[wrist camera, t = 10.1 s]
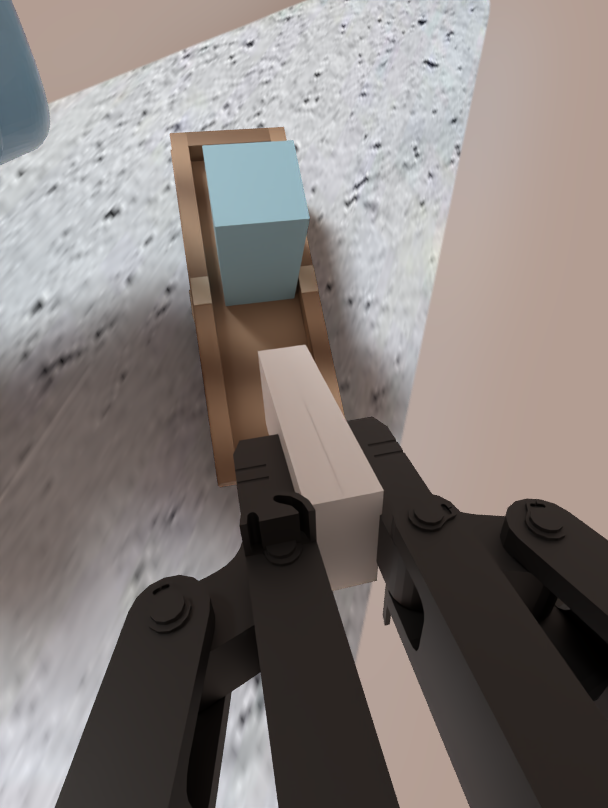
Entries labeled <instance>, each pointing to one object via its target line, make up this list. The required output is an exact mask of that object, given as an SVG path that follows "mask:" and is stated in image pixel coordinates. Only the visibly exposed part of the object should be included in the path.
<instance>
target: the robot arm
mask: <svg viewBox="0 0 608 808" xmlns="http://www.w3.org/2000/svg"><path fill="white" fill-rule="evenodd" d="M49 128H50V114H49V107H48V102H47V98H46V94H45V91H44V88H43V84H42V81H41V78H40V75H39V72H38V69H37V66H36V63H35V60H34V57H33V55H32V52H31V49H30V46H29V43H28V41H27V38H26V35H25V33H24V30H23V28H22V25H21V23H20V20H19V18H18V15H17V12H16V10H15V8H14V5H13V3H12V1H11V0H0V165H2V164H4V163H6V162H8V161H11V160H13V159H15V158H17V157H20V156H22V155H24V154H26V153H29V152H31V151H33V150H35V149H37V148H38V147H39V146H40V145H41V144H42V143H43V141H44V140H45V138H46V137H47V135H48V132H49ZM258 358H259V366H260V375H261V384H262V393H263V401H264V410H265V419H266V425H267V429H268V433H269V436H263V437H257V438H251V439H246V440H240V441H239V443H238V445H237V447H236V449H235V451H234V454H233V459H234V466H235V474H236V482H237V489H238V497H239V504H240V512H241V518H240V531H241V536H242V544H241V547H240V550H239V551H238V553H237V554H236V556H235V557H234V558H233V559H232V560H231V561H230V562H229V563H228V564H227V565H226V566H225V567H223V568H222V569H220V570H219V571H217V572H215V573H213V574H212V575H210V576H208V577H206V578H204V579H202V580H200V581H198V580H196V579H195V578H193V577H188V576H182V575H177V576H172V577H166V578H163V579H161V580H159V581H157V582H155V583H153V584H151V585H149V586H148V587H147V588H146V589H145V590H144V591H143V592H142V593H141V594H140V595H139V596H138V597H137V598H136V600H135V601H134V603H133V605H132V607H131V608H130V610H129V612H128V615H127V617H126V620H125V623H124V625H123V628H122V630H121V633H120V636H119V638H118V641H117V644H116V646H115V649H114V652H113V654H112V657H111V660H110V662H109V665H108V668H107V670H106V673H105V676H104V678H103V681H102V684H101V686H100V689H99V692H98V694H97V697H96V700H95V702H94V705H93V707H92V710H91V713H90V715H89V718H88V721H87V723H86V726H85V729H84V731H83V734H82V737H81V739H80V742H79V745H78V747H77V750H76V753H75V755H74V758H73V761H72V763H71V766H70V769H69V771H68V774H67V776H66V779H65V782H64V784H63V787H62V790H61V792H60V795H59V798H58V800H57V803H56V806H55V808H215V806H216V799H217V792H218V784H219V777H220V770H221V763H222V756H223V749H224V742H225V735H226V728H227V721H228V714H229V707H230V700H231V693H232V691H233V690H235V689H236V688H238V687H239V686H241V685H242V684H244V683H245V682H247V681H248V680H250V679H251V678H253V677H254V676H255V675H257V674H258V673H260V672H261V678H262V686H263V694H264V701H265V709H266V716H267V724H268V731H269V739H270V746H271V754H272V761H273V769H274V776H275V784H276V791H277V799H278V807H279V808H400V807H399V804H398V801H397V797H396V794H395V791H394V788H393V785H392V781H391V778H390V775H389V772H388V769H387V765H386V762H385V759H384V756H383V752H382V749H381V746H380V743H379V740H378V736H377V733H376V730H375V727H374V723H373V720H372V717H371V714H370V711H369V708H368V705H367V701H366V698H365V695H364V691H363V688H362V685H361V682H360V679H359V676H358V672H357V669H356V666H355V662H354V659H353V656H352V653H351V650H350V646H349V643H348V640H347V637H346V634H345V630H344V627H343V624H342V621H341V617H340V614H339V611H338V608H337V605H336V601H335V598H334V595H333V592H332V591H334V590H339V589H343V588H347V587H351V586H356V585H360V584H364V583H369V582H373V581H377V570H378V567H379V569H380V571H381V573H382V576H383V578H384V580H385V583H386V589H385V598H384V608H383V618H384V624H385V625H388V624H390V616H392V618H393V621H394V623H395V626H396V628H397V631H398V633H399V635H400V638H401V640H402V643H403V645H404V648H405V650H406V653H407V655H408V658H409V660H410V662H411V665H412V667H413V670H414V672H415V674H416V677H417V679H418V682H419V684H420V686H421V689H422V692H423V694H424V696H425V699H426V701H427V704H428V706H429V709H430V711H431V713H432V716H433V718H434V721H435V723H436V726H437V728H438V731H439V733H440V736H441V738H442V740H443V743H444V745H445V748H446V750H447V753H448V755H449V757H450V760H451V762H452V765H453V767H454V770H455V772H456V774H457V777H458V779H459V782H460V784H461V787H462V789H463V792H464V794H465V796H466V799H467V801H468V804H469V806H470V808H608V540H607V539H605V538H604V537H603V536H601V535H600V534H598V533H597V532H596V531H594V530H593V529H591V528H590V527H589V526H587V525H586V524H585V523H583V522H582V521H581V520H579V519H578V518H577V517H575V516H574V515H572V514H571V513H570V512H568V511H566V510H565V509H563V508H561V507H559V506H558V505H556V504H554V503H550V502H547V501H544V500H539V499H523V500H519V501H515V502H514V503H513V504H512V505H511V506H509V507H508V509H507V512H506V516H491V515H476V514H469V513H463V512H460V511H459V510H458V509H457V508H456V507H455V506H454V505H453V504H452V503H451V502H450V501H448V500H446V499H444V498H442V497H440V496H437V495H433V494H432V493H431V492H430V490H429V489H428V487H427V486H426V484H425V483H424V481H423V480H422V478H421V477H420V476H419V474H418V472H417V471H416V469H415V468H414V466H413V465H412V463H411V462H410V460H409V459H408V457H407V456H406V454H405V453H403V450H402V448H401V447H400V445H399V444H398V442H396V439H395V438H394V436H393V435H392V433H391V432H390V430H389V429H388V427H387V426H386V425H384V424H383V423H381V422H380V421H378V420H377V419H375V418H374V417H368V418H362V419H356V420H350V421H346V419H345V417H344V416H343V414H342V412H341V410H340V408H339V406H338V404H337V402H336V401H335V399H334V397H333V395H332V393H331V391H330V389H329V388H328V386H327V384H326V382H325V380H324V378H323V376H322V375H321V373H320V371H319V369H318V367H317V365H316V363H315V361H314V360H313V358H312V356H311V354H310V352H309V350H308V348H307V347H306V345H299V346H292V347H285V348H278V349H270V350H263V351H258Z"/></svg>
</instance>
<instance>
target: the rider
mask: <svg viewBox="0 0 608 808" xmlns="http://www.w3.org/2000/svg"><path fill="white" fill-rule="evenodd" d="M202 148H203V155H204V162H205V170H206V177H207V184H208V191H209V198H210V205H211V212H212V219H213V226H214V233H215V240H216V247H217V254H218V260H219V266H220V273H221V279H222V286H223V292H224V299H225V305H226V306H232V305H241V304H250V303H258V302H267V301H276V300H284V299H293V298H294V297H295V292H296V287H297V281H298V276H299V271H300V266H301V261H302V256H303V251H304V246H305V241H306V235H307V230H308V225H309V220H310V217H309V212H308V208H307V203H306V198H305V193H304V189H303V184H302V179H301V174H300V170H299V165H298V160H297V156H296V151H295V146H294V141H293V140H290V141H272V142H255V143H238V144H221V145H204V146H202Z"/></svg>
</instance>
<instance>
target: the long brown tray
mask: <svg viewBox="0 0 608 808" xmlns="http://www.w3.org/2000/svg"><path fill="white" fill-rule="evenodd" d="M170 139H171V146H172V150H171V156H172V163H173V170H174V177H175V184H176V191H177V198H178V205H179V213H180V220H181V227H182V234H183V241H184V248H185V255H186V262H187V269H188V276H189V283H190V290H189V294H190V301H191V308H192V315H193V319H194V322H195V326H196V333H197V340H198V347H199V354H200V361H201V368H202V376H203V383H204V390H205V397H206V404H207V411H208V418H209V425H210V432H211V439H212V446H213V454H214V461H215V468H216V475H217V482H218V486H219V487H224V486H230V485H235V484H237V482H236V474H235V466H234V459H233V454H234V451H235V449H236V447H237V445H238V443H239V441H240V440H246V439H251V438H257V437H263V436H269V433H268V429H267V425H266V419H265V410H264V401H263V393H262V384H261V375H260V366H259V358H258V351H263V350H270V349H278V348H285V347H292V346H299V345H306V347H307V348H308V350H309V352H310V354H311V356H312V358H313V360H314V361H315V363H316V365H317V367H318V369H319V371H320V373H321V375H322V376H323V378H324V380H325V382H326V384H327V386H328V388H329V389H330V391H331V393H332V395H333V397H334V399H335V401H336V402H337V404H338V406H339V408H340V410H341V412H342V414H343V416H344V411H343V406H342V402H341V397H340V392H339V387H338V383H337V378H336V373H335V368H334V364H333V359H332V354H331V349H330V345H329V340H328V335H327V330H326V325H325V321H324V316H323V311H322V306H321V302H320V297H319V292H318V291H319V290H318V286H317V281H316V276H315V271H314V267H313V264H312V259H311V254H310V249H309V245H308V240H307V235H306V241H305V246H304V251H303V256H302V261H301V266H300V271H299V276H298V281H297V287H296V292H295V297H294V298H293V299H284V300H276V301H267V302H258V303H250V304H241V305H232V306H226V305H225V299H224V292H223V286H222V279H221V273H220V266H219V260H218V254H217V247H216V240H215V233H214V226H213V219H212V212H211V205H210V198H209V191H208V184H207V177H206V170H205V162H204V155H203V148H202V146H204V145H221V144H238V143H255V142H272V141H287V140H286V135H285V130H284V127H275V128H257V129H239V130H221V131H203V132H185V133H170ZM344 417H345V416H344Z"/></svg>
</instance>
